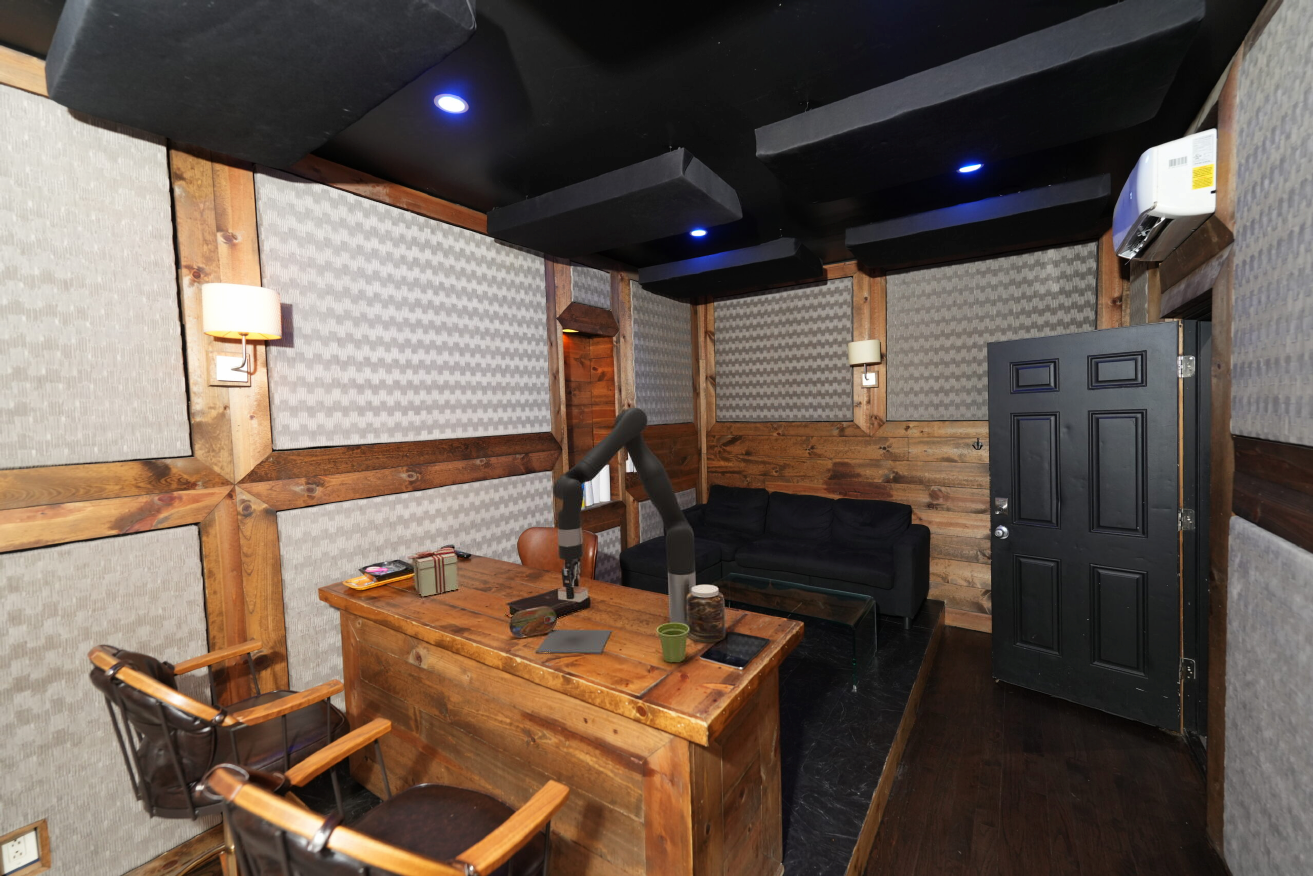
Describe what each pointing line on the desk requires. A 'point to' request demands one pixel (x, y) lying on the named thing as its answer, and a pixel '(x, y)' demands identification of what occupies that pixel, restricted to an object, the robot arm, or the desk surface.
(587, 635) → the mat
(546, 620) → the tin
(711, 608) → the jar
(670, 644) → the plant pot
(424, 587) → the gift box
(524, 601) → the diary
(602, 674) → the desk surface
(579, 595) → the block
